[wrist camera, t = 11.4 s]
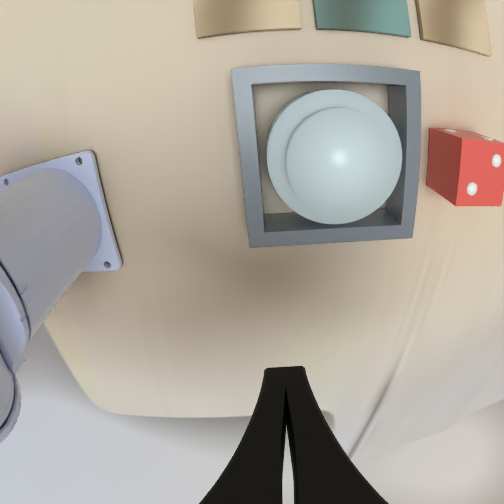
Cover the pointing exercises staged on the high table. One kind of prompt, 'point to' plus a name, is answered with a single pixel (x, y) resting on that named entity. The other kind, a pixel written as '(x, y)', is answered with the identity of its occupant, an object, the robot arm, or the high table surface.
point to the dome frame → (292, 224)
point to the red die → (466, 167)
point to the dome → (333, 156)
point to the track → (352, 19)
